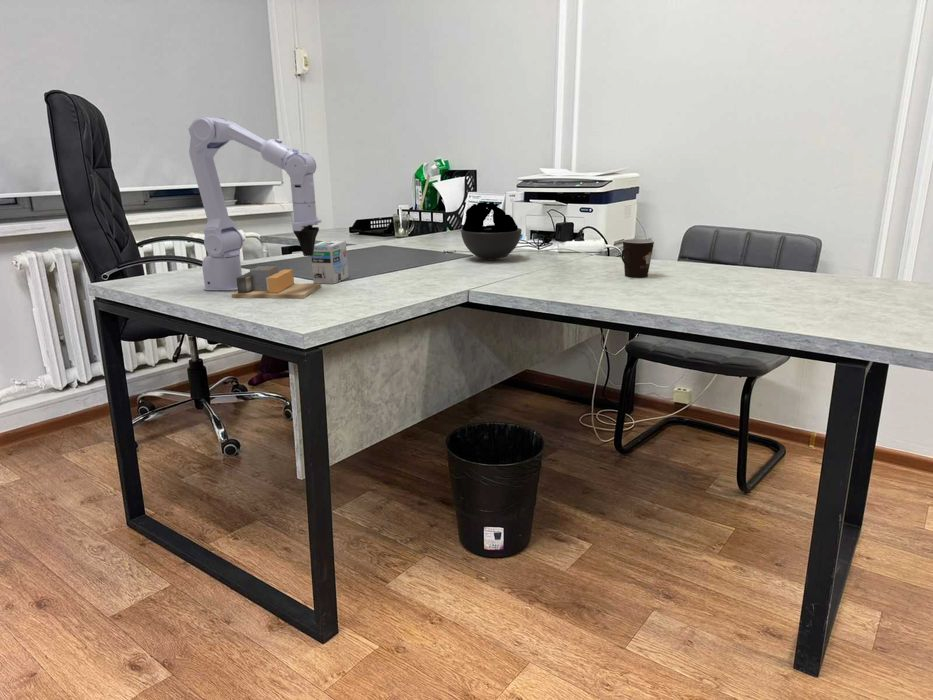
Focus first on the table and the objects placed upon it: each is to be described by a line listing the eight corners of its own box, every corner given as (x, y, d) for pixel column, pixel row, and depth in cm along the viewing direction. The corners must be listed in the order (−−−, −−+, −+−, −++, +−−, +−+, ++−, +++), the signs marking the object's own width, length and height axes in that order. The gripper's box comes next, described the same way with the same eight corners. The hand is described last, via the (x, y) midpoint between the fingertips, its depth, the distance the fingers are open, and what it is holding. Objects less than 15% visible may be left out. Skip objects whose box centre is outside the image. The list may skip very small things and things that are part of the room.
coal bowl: (475, 253, 233) (474, 199, 227) (529, 256, 225) (529, 200, 220) (451, 262, 215) (450, 204, 210) (509, 266, 208) (509, 205, 202)
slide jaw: (266, 292, 168) (265, 277, 167) (283, 283, 179) (282, 269, 178) (278, 292, 167) (276, 277, 166) (294, 283, 179) (292, 269, 178)
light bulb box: (335, 284, 183) (332, 245, 180) (312, 283, 185) (309, 245, 181) (349, 277, 193) (346, 240, 190) (327, 276, 195) (324, 240, 191)
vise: (231, 297, 168) (229, 278, 166) (253, 286, 181) (251, 268, 180) (303, 298, 166) (302, 278, 165) (320, 287, 179) (319, 269, 178)
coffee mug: (640, 272, 194) (643, 238, 191) (657, 277, 186) (660, 242, 184) (606, 275, 191) (607, 240, 188) (621, 280, 183) (623, 244, 180)
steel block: (251, 291, 171) (249, 270, 169) (260, 286, 176) (258, 266, 175) (270, 291, 170) (268, 270, 169) (279, 286, 176) (276, 266, 174)
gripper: (310, 204, 161) (314, 260, 165) (327, 200, 175) (331, 251, 179) (282, 205, 161) (287, 260, 165) (301, 200, 175) (306, 251, 179)
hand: (308, 255), depth 172 cm, fingers closed
